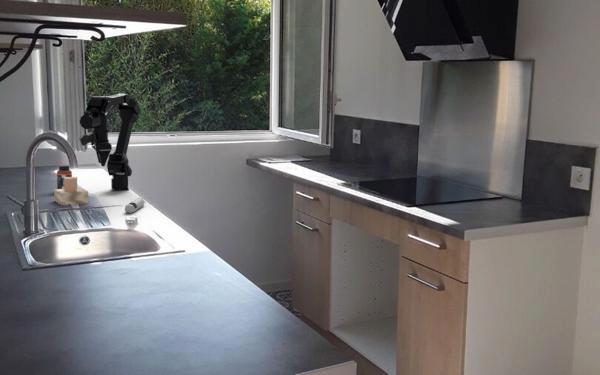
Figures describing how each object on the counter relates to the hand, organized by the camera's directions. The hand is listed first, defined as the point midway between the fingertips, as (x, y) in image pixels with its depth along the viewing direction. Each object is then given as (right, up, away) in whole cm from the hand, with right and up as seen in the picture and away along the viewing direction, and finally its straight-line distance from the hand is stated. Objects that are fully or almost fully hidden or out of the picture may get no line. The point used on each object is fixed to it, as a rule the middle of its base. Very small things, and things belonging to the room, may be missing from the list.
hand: (101, 164), depth 265 cm
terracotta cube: (-7, -11, -15) cm, 20 cm away
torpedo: (+20, -18, -23) cm, 35 cm away
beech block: (-8, -16, -14) cm, 22 cm away
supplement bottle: (-18, -11, +7) cm, 22 cm away
